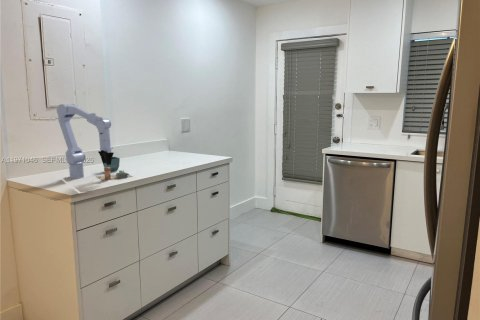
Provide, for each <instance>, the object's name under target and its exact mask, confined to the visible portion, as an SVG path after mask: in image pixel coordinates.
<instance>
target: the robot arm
mask: <svg viewBox="0 0 480 320" xmlns="http://www.w3.org/2000/svg"><path fill="white" fill-rule="evenodd" d="M56 114H57V117H58V118H57V119H58V120H57V121H58V124H59V127H60V130H61V132H62V136H63V138H64V141H65V144H66V148H67V150H66V151H65V155H66V157H65V160H66V162H67V164H68V165H69V178H70V179H82V178H84V177H85V174H84V171H85V170H84V162H85V160H86V154H85V153H84V152H83V149H82V148H81V147H80V146H78V143H77V140H76V136H75V135H74V132H73V128H72V126H71V123H70V121H71V119H72V118H73V117H74V116H75V115H78V116H80V117H82V118H84V119H86V121H87V122H88V123H89V124H91V125H93V126H95V128H96V129H97V132H98V137H99V140H98V141H99V151H98V154H99V156H100V159H101V162H102V164H103V163H106V164H107V165H111V160H112V157H114V152H112V149H114V147H112V145H111V134H110V128H111V127H112V122H111V120H110V119H108V118H103V117H102V116H99V115H97V113H95V112H91V113H89V112H88V111H86V110H84V109H83V108H81V107H79V106H78V105H76V104H75V103H70V104H69V103H67V104H65V103H64V104H63V103H60V104H59V105H57V108H56Z"/></svg>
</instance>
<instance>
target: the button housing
mask: <svg viewBox="0 0 480 320" xmlns="http://www.w3.org/2000/svg"><path fill="white" fill-rule="evenodd" d="M127 173H128V172H125V171H124V174H119V172H118V173H115V174H116V177H117V178H119V179H118V180H120V178H121V179H127V178H129V177H128V175H127Z"/></svg>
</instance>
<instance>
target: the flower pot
mask: <svg viewBox="0 0 480 320" xmlns="http://www.w3.org/2000/svg"><path fill="white" fill-rule="evenodd" d="M120 160H121V159H120V157H117V156H112V160H111V165H107V164H106V163H103V162H102V165H103V168H104V167H110V173H113V172H118V171H119V168H120V163H121V161H120Z"/></svg>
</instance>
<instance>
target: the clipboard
mask: <svg viewBox="0 0 480 320" xmlns="http://www.w3.org/2000/svg"><path fill="white" fill-rule="evenodd" d="M126 173H127V175H128V178H133V177H134V176H133V175H130V174H129V173H128V172H126ZM95 178H97V179H99V180H100V181H103V182H105V181H107V180H105V174H104V175H98V176H95ZM120 179H122V178H120ZM120 179H119V178H117V177H116V173H113V174H111V179H110V180H109V181H113V180H120Z"/></svg>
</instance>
